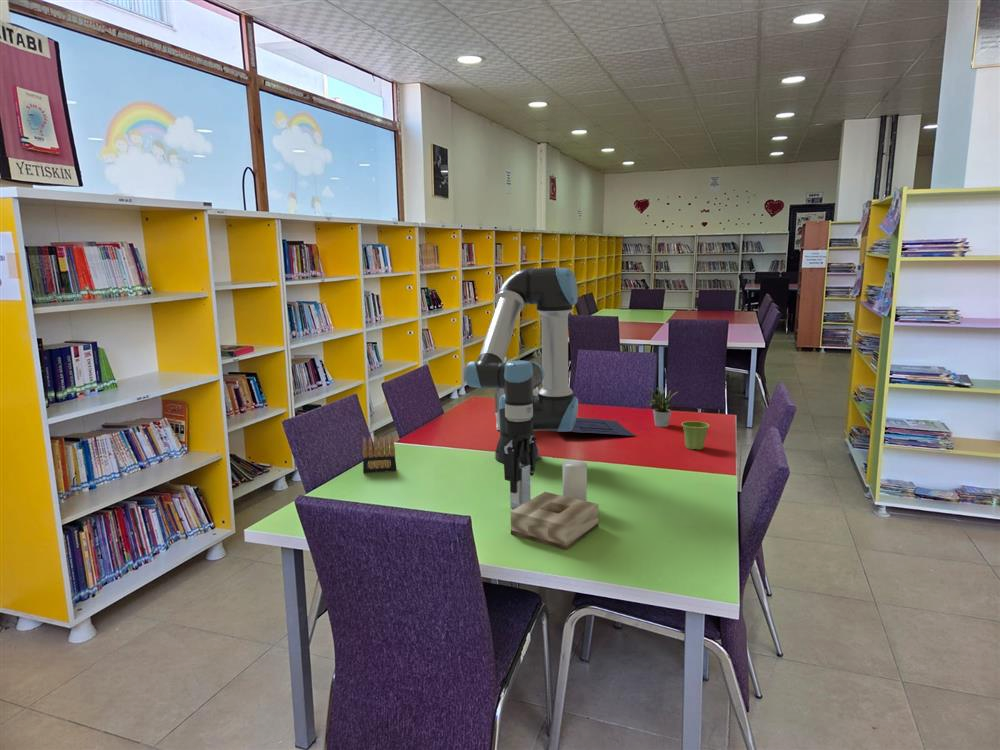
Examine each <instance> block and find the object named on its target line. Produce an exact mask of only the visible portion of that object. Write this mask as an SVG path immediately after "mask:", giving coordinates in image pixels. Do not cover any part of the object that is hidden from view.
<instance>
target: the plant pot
mask: <svg viewBox="0 0 1000 750" xmlns="http://www.w3.org/2000/svg"><path fill="white" fill-rule="evenodd" d="M681 426H682V429H683V432H684V433H683V435H684V445H685V448H686V449H688V450H697V451H698V450H703V449H704V448H705V441H706V437H707V432H708V430H709V427H710V424H709V423H708V422H704V421H703V422H702V421H695V420H689V421H683V422H681Z"/></svg>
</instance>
